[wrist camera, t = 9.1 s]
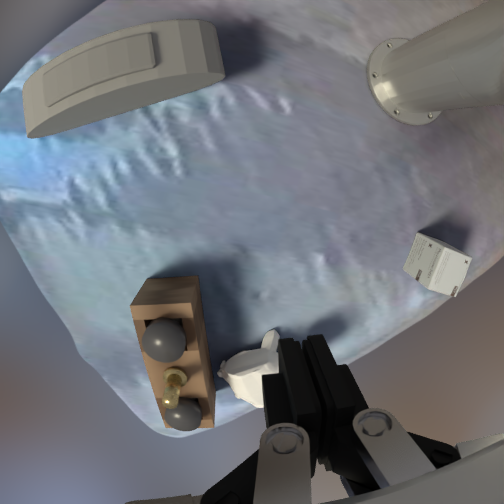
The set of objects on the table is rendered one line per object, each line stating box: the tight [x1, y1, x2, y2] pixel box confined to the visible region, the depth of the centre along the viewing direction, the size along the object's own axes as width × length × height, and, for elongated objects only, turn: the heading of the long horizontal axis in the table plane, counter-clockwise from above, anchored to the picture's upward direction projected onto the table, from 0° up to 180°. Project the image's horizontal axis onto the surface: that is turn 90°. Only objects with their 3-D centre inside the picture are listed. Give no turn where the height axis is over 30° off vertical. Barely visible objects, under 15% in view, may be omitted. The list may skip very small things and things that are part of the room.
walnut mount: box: [130, 276, 216, 428], centre depth 40 cm, size 7×20×8 cm, turn 4°
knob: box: [142, 317, 187, 363], centre depth 37 cm, size 5×5×9 cm
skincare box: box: [403, 232, 472, 297], centre depth 39 cm, size 6×6×7 cm
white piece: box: [217, 329, 280, 408], centre depth 42 cm, size 9×8×15 cm
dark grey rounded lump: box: [164, 397, 202, 431], centre depth 41 cm, size 5×5×9 cm
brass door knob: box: [162, 367, 187, 409], centre depth 34 cm, size 3×3×5 cm
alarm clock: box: [22, 19, 225, 139], centre depth 27 cm, size 23×6×13 cm, turn 101°
